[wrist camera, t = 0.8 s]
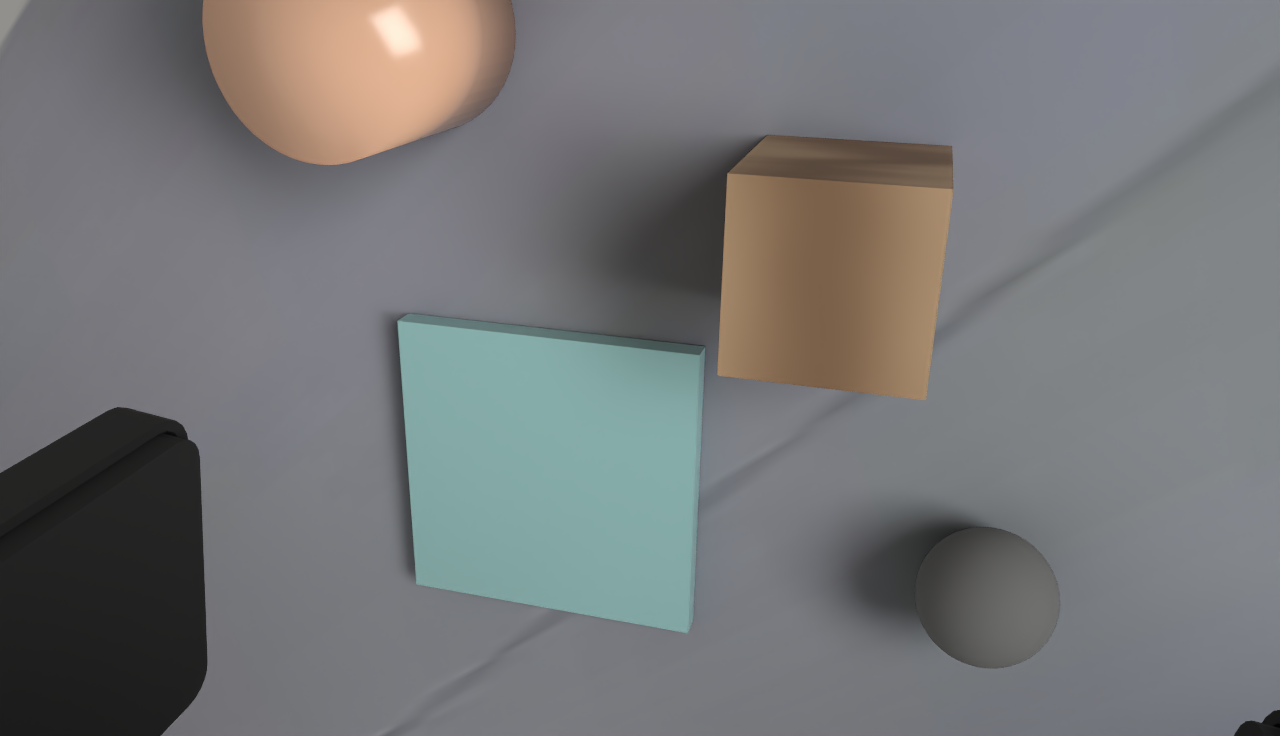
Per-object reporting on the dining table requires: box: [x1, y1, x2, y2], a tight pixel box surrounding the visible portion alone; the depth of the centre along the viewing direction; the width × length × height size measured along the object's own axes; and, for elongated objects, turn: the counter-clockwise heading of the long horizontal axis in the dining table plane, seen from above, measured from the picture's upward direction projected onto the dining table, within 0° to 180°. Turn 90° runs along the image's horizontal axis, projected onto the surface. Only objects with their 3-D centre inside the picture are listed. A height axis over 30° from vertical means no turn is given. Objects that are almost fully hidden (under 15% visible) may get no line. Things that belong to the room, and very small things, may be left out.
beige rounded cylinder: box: [202, 0, 516, 165], centre depth 28 cm, size 6×6×6 cm
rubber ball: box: [915, 527, 1060, 668], centre depth 30 cm, size 4×4×4 cm
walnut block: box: [717, 135, 953, 400], centre depth 27 cm, size 5×5×6 cm
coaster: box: [397, 313, 705, 633], centre depth 34 cm, size 10×10×1 cm
